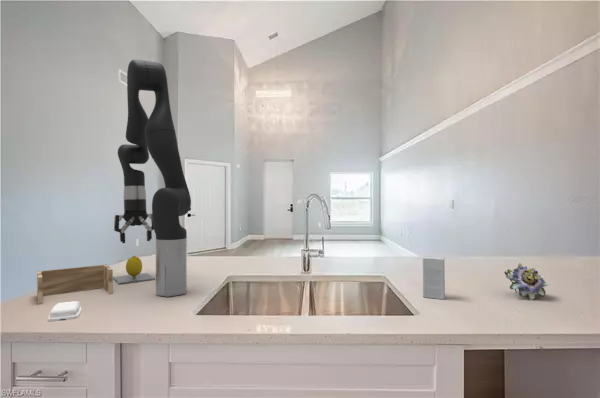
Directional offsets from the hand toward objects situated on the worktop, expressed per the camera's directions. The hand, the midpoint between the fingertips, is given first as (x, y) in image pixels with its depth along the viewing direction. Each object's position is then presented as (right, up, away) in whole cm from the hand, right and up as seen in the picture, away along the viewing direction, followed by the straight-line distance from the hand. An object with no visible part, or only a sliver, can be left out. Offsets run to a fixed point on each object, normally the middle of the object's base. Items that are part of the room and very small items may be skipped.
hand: (136, 242), depth 134 cm
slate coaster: (-1, -14, 0) cm, 14 cm away
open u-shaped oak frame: (-9, -14, -22) cm, 27 cm away
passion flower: (+130, -14, -23) cm, 133 cm away
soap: (0, -14, -41) cm, 44 cm away
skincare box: (+102, -14, -24) cm, 105 cm away
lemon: (-1, -13, 0) cm, 13 cm away
